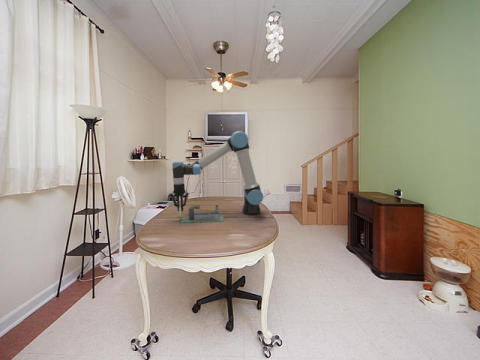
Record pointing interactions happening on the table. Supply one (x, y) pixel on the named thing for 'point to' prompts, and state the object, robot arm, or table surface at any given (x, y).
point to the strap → (205, 209)
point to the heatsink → (206, 215)
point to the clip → (192, 212)
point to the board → (186, 220)
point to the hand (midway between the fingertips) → (180, 215)
